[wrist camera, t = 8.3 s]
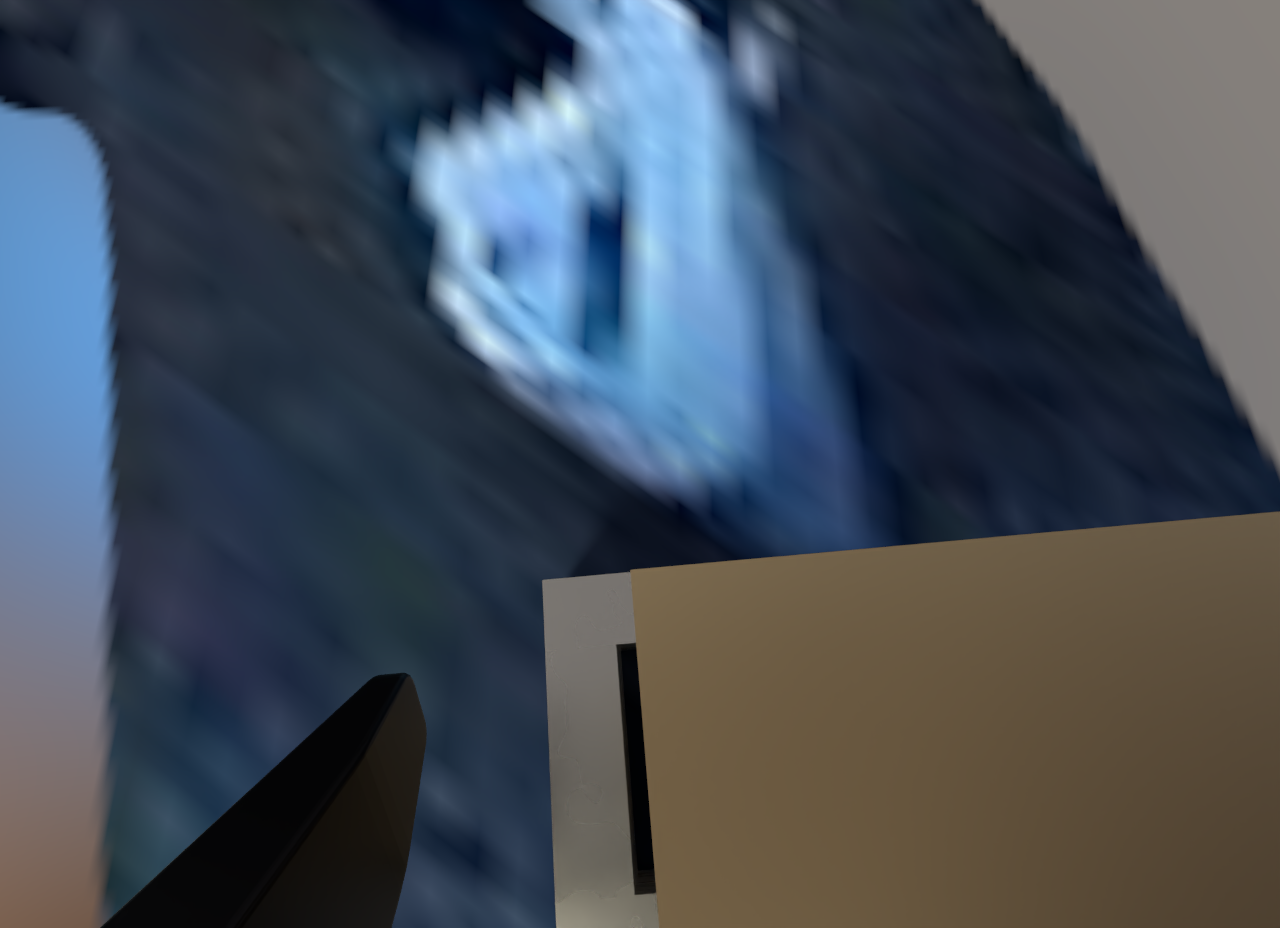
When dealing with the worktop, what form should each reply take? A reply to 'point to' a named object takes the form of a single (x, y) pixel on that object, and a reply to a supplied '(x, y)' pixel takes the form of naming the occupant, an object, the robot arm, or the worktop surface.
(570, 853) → the socket plate
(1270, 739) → the pin
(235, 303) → the worktop surface
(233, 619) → the worktop surface
